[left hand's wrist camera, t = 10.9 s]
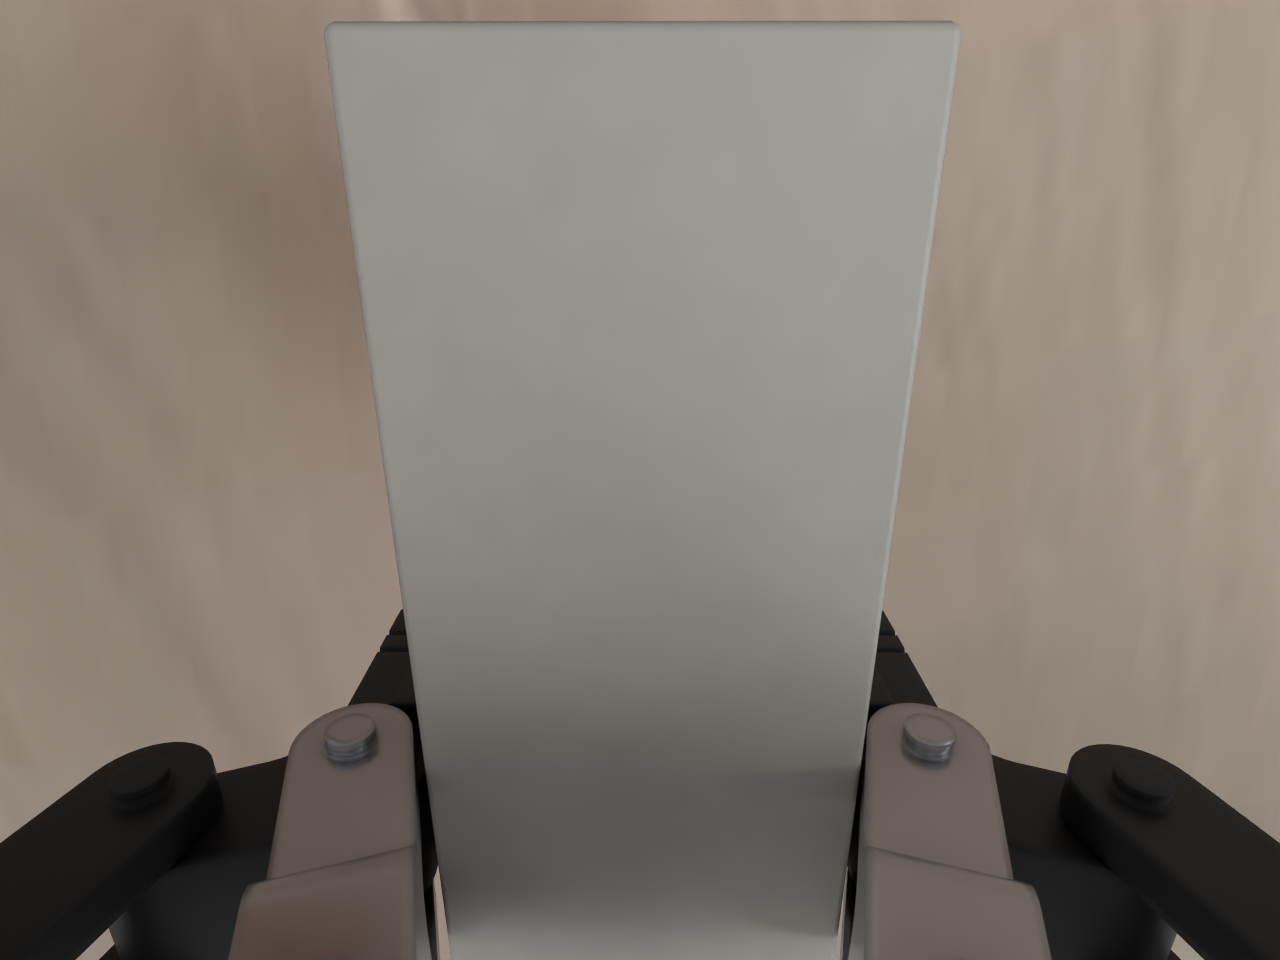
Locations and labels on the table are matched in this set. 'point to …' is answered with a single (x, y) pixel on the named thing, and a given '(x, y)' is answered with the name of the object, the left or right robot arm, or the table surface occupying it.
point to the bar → (642, 451)
